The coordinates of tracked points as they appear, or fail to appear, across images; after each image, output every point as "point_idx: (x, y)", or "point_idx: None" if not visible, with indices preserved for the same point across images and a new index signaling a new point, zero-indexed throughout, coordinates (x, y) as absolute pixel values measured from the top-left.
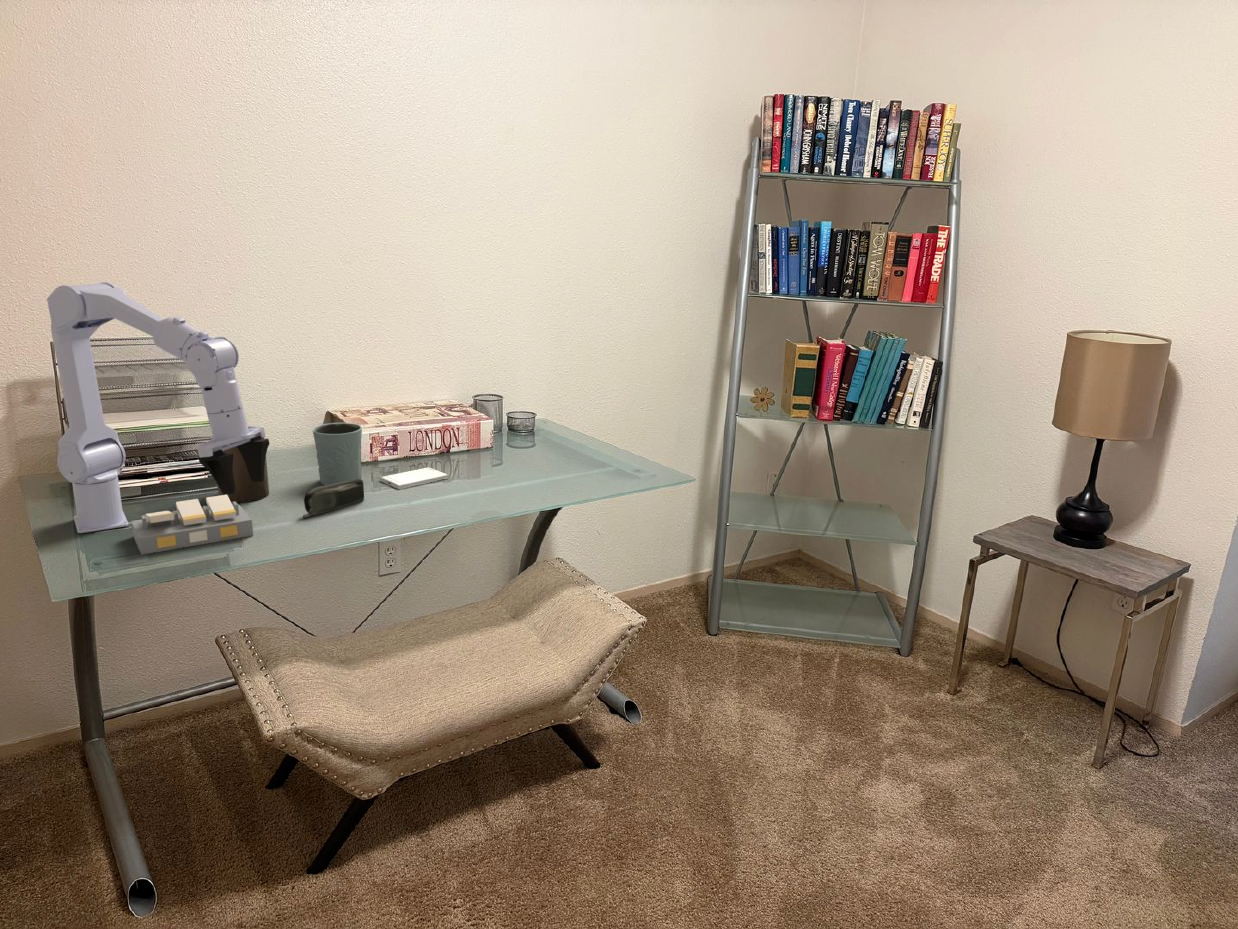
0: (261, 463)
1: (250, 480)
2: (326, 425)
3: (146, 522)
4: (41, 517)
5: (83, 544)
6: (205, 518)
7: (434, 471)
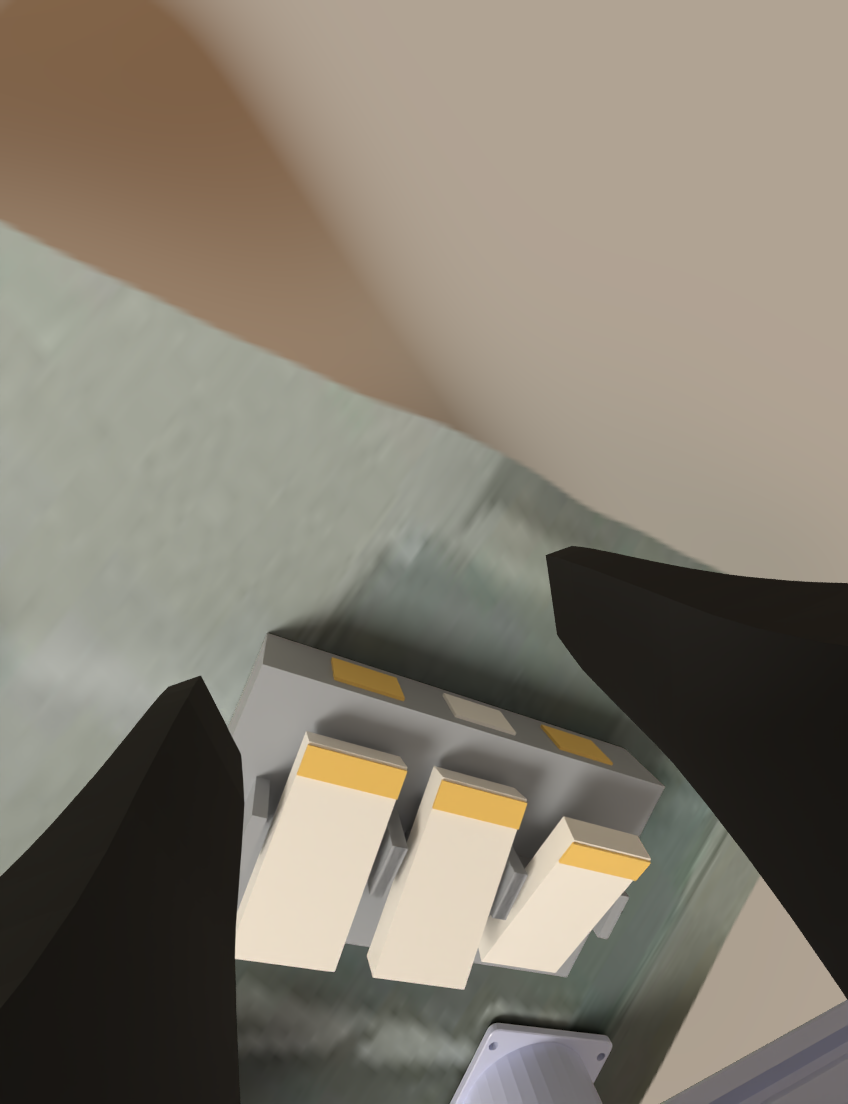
0: (135, 788)
1: None
2: None
3: None
4: None
5: (648, 945)
6: (443, 774)
7: None
